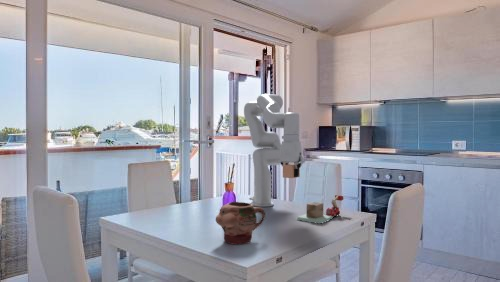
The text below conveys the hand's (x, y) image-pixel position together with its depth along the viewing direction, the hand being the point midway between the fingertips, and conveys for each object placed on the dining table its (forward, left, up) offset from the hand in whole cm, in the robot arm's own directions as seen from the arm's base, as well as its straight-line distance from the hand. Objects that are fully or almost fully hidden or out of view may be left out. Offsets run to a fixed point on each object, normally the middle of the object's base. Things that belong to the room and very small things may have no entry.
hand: (291, 176), depth 178 cm
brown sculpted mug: (+6, -45, -20) cm, 50 cm away
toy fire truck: (+15, +16, -20) cm, 30 cm away
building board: (+11, +3, -20) cm, 23 cm away
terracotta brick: (0, 0, -1) cm, 1 cm away
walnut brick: (+11, +3, -18) cm, 22 cm away
